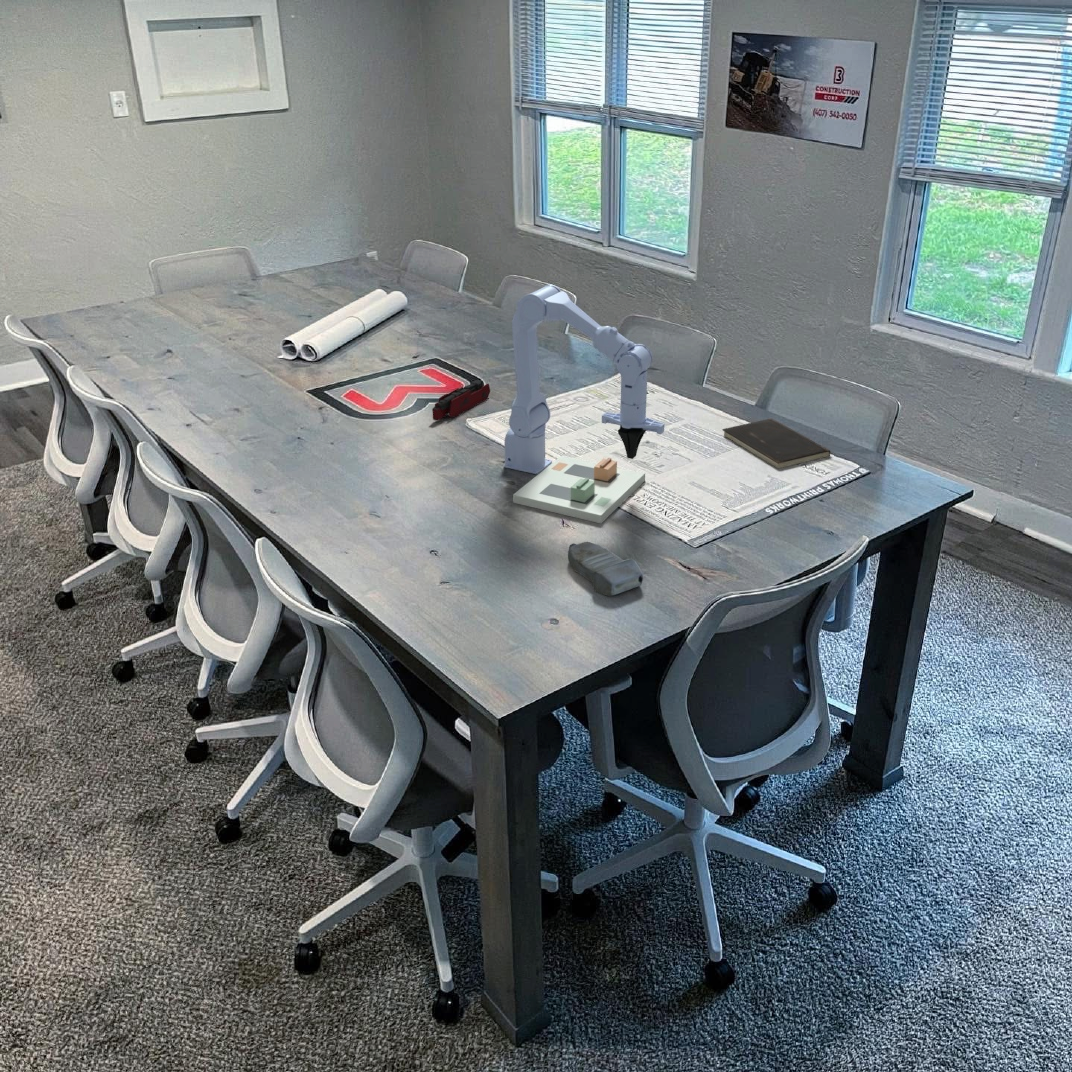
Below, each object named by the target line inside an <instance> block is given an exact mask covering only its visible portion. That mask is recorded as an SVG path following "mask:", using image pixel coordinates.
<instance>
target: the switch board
mask: <svg viewBox="0 0 1072 1072" xmlns="http://www.w3.org/2000/svg"><path fill="white" fill-rule="evenodd" d="M598 463H599V462H595V461H590V460H587V459H582V458H576V457H572V456H566V455H563V454H562V455H560V457H558V458H557V459H555V460H554V461H552V463H551V464H550V465H548V466H547V467H546V468H545V469H543V470H542V471H541V472H540V473H538V474H536V476H535V477H533V478H532V479H530V480H529V481H528V482H527V483H525V484H524V485H523V486H522V487H521V488H520V489H518V490H516V492H514V493H513V494H512V502H513V504H517V505H518V504H519V505H523V506H526V507H531V508H535V509H539V510H543V511H547V512H551V513H556V514H560V515H564V516H569V517H572V518H577V519H581V520H584V521H589V522H593V523H598V524H602V523H603V522H604V521H605V520H606V519H607V518H608V517H609V516H610V515H611V514H612V513H614V511H615V510H617V508H618V507H619V506H620V505H622V502H623V503H624V502H625V501H626V500H627V499H628V498H629V497H630V496H631V495H632V494H633V493H634V492H635V491H636V490H637V489H638V488H639V487H640V486H641V485H642V484H643V483H644V482H646V472H643V471H642V472H641V471H637V470H633V469H628V468H625V467H620V466H617V473H616V474H615V475H614V476H613V477H612V478H611V479H610V480H609V481H603V480H599V479H594V466H595V465H597V464H598ZM585 478H589V480H590V481H594V482H595V494H594V495H592V496H591V497H590V498H589V499H588V500H587V501H586V502H585V503H584V502H580V501H576V500H571V486H573V485H574V484H575V483H576V482H577V481H578V480H580V479H585ZM624 500H625V501H624Z"/></svg>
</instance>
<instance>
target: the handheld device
mask: <svg viewBox="0 0 1072 1072" xmlns="http://www.w3.org/2000/svg"><path fill="white" fill-rule="evenodd" d="M567 555H568V557H567V559H568V562H569V566H570V567H571V568H572V569H573V571H575V572H577V573H578V574H580V575H581V576H582V577H584V578H585V579H586V580H588V581H590V582H592V586H593V587H592V588H593V591H594V592H595V593H597V592H598V594H600V595H604V596H616V595H618V594H621V593H624V592H627V591H630V590H632V589H634V588H637V587H638V588H639V587H640V586H642V584H643V582H644V575H643V572H642V570H641V568H640V566H639V564H638V563H637V561H636V560H635V559H633V558H627V559H624V560H623V559H622V558H621V557H619V556H617V555H616V554H615V553H613V552H612V551H611V550H609V549H607V548H605V547H603V546H601V545H599V544H597V543H593V542H591V541H583V542H580V543H571V544H570V545H569V546H568V551H567Z"/></svg>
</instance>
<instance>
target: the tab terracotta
mask: <svg viewBox="0 0 1072 1072" xmlns="http://www.w3.org/2000/svg"><path fill="white" fill-rule="evenodd" d="M597 463H598V464H597V465H595V466H594V479H599V480H603V481H609V480H610V479H611V478H612V477H613V476H614V475H615V474H616V473H617V467H618V461H616V460H612V458H611V457H607V458H602V459H601V460H600V461H599V462H597Z"/></svg>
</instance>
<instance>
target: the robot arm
mask: <svg viewBox="0 0 1072 1072" xmlns="http://www.w3.org/2000/svg"><path fill="white" fill-rule="evenodd" d="M544 320H545V322H551V321H552V322H555V321H557V322H558V321H563V322H565V323H566V324H568V325H569V326H571V327H572V328H574V329H575V330H576V331H579V332H580V333H582V334H583V335H585V336H586V337H588V338H589V339H591V342H592V346H593V348H594V349H595V350H597V351H598V352H599V353H601V354H602V355H603V356H604V357H606V358H608V360H610V361H611V362H612V363H614V364H615V365H616V369H617V371H618V373H619V375H620V405H619V406H620V409H619V412H618V413H616V412H614V413H613V412H604V413H603V414H601V424H605V425H606V424H611V425H618V426H619V429H618V430H617V434H618V435H619V437H620V439H621V441H622V443H623V445H624V450H625V452H626V458H627V459H632V460H633V459H634V458H636V456H637V453H638V449H639V447H640V446H639V445H640V444H641V441H642V439H643V437H644V435H645V433H646V431H647V432H648V431H649V432H653V433H656V434H657V435H662V434H663V433H664V432H665V423H664V422H660V421H657V420H654V419H652V418H649V417H647V396H648V393H647V392H648V369H649V368H650V367H651V365H652V363H653V355H652V352H651V351H650V349H649V348H648V347H647V346H646V345H645V344H642V343H635V342H633V341H632V340H631V341H630V340H629V339H627V338H626V337H625V336H624V335H622V334H621V333H619V331H618V328H616V327H615V326H612V327H611V326H610V325H606V326H605V325H604V326H601V325H600V324H599V323H598V322H596V321H595V320H594V319H593V318H592V317H591V316H589V315H588V313H586V312H585V311H583V310H582V309H581V308H580V307H579V306H578V305H576V304H575V303H574V302H573V301H572V300H571V299H570V297H569V294H568V293H567V292H565V291H563V290H561V289H560V288H559V287H558V286H556V285H554V284H546V285H544V286H543V287H542V288H540V289H539V288H538V290H537V289H536V290H535V291H533V292H531V293H527V294H525V295H524V296H522V297H521V298H520V299H519V300H518V301H517V302H516V309H515V312H514V315H513V317H512V320H511V328H512V342H513V343H512V344H513V354H514V355H513V357H514V371H515V381H516V382H515V383H516V396H515V398H514V400H513V402H512V403H511V406H510V407H511V408H510V409H511V412H510V416H509V419H508V423H509V429H508V430H507V431H506V433H505V437H504V464H503V467H504V468H506V469H511V470H515V471H520V472H525V473H529V474H534V475H538V474H539V473H541V472H542V471H543V470H544V469H546V468H547V467H548V466H549V465H551V464H552V463H553V460H551V459H546V428H547V427H546V425H547V423H548V422H549V421H550V418H551V410H550V408H549V406H548V403H547V396H546V395H545V394H544V393H542V392H541V382H540V381H541V380H540V367H539V352H538V338H537V337H538V334H537V333H538V332H537V327H539V325H540V324H541V323H542V322H543V321H544Z"/></svg>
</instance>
